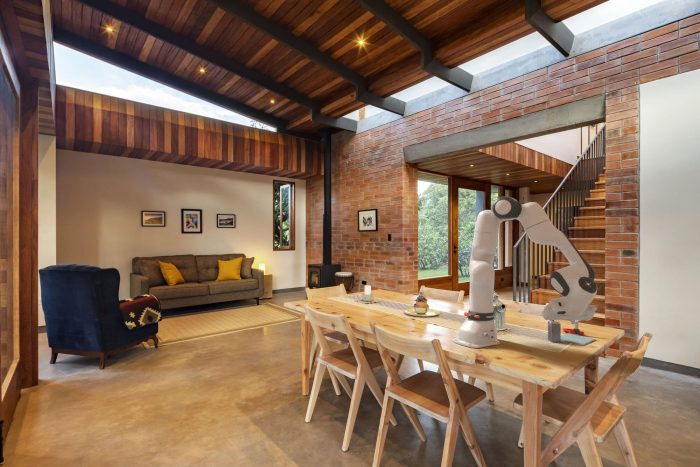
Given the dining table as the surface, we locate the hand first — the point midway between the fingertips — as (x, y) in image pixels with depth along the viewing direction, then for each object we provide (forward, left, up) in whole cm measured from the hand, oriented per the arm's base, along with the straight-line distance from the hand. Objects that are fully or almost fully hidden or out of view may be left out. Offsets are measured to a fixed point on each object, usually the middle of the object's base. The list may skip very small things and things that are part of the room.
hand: (561, 322), depth 159 cm
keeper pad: (+15, +1, -11) cm, 19 cm away
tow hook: (+27, +7, -11) cm, 29 cm away
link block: (+5, +6, -11) cm, 13 cm away
